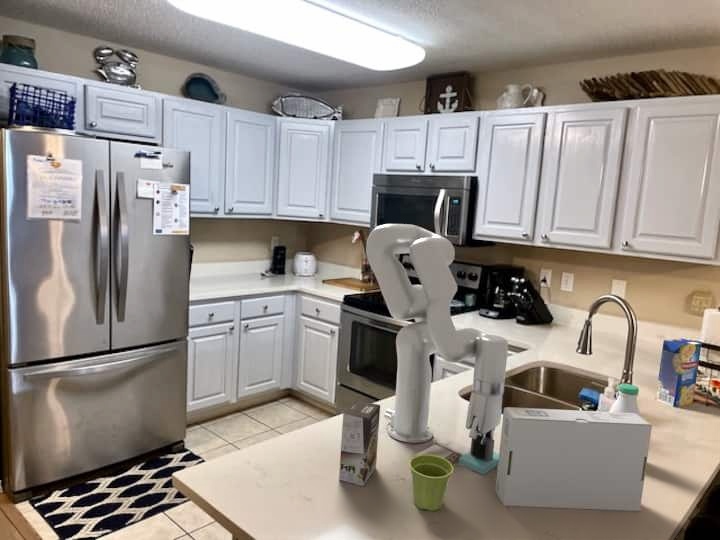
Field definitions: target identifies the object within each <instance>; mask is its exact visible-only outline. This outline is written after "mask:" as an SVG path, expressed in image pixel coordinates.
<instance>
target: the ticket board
mask: <svg viewBox="0 0 720 540" xmlns="http://www.w3.org/2000/svg"><path fill="white" fill-rule="evenodd" d="M418 455H435V456H439V457H442V458H444V459H446V460H447V461H449V462H450V463H451V464H452V465H453V466H454V464H455V465H456V464H458V463H457V462H459V458H460V457H461V456H463V453H461V452H458V451H456V450H454V449H451V448H449V447H446V446H445V445H441V444H439V443H437V442H435V443H433V444H432V445H430V446H428V447H426V448H424V449H422V450H421V451H419V452H417V453H415V454H413V457H415V456H418ZM413 457H412V458H413Z"/></svg>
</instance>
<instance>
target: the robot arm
mask: <svg viewBox="0 0 720 540" xmlns="http://www.w3.org/2000/svg"><path fill="white" fill-rule="evenodd" d="M365 248H366V249H365V253H366V258H367V261H368V264H369V266H370V269H371V270H372V271H373V274H374V277H375V278H376V280H377V283H378V285H379V288H380V291H381V294H382V296H383V299H384V301H385V304H386V307H387V309H388V311H389V313H390V316H391V317H392V318H393V319H394V320H397V321H410V320H413V319H414V321H415V322H413V323H409V324H407V325H405V326H404V327H402V328H401V329H400V330H398V331H399V332H398V333H397V335H396V339H395V346H396V355H397V358H396V359H397V371H396V384H395V385H396V388H395V401H394V410H393V409H392V408H387V409H386V411H385V413H384V417H383V418H384V419H387V420H389V421H390V422H389V424H388V425H387V433H388V434H389V436H391V438H393V439H395V440H397V441H400V442H404V443H411V444H420V443H424V442H427V441H429V440H431V439H432V437H433V433H434V432H433V429H432V427H430V426H429V424H428V423H429V411H430V402H431V401H430V400H431V388H432V374H433V373H432V366H431V362H430V356H431V355H433V354H436V353H437V354H438V355H439V356H440V357H441V358H442V359H443V360H444V361H446V362H448V363H453V364H456V363H460V362H462V361H465V360H468V359H474V367H473V377H472V391H471V394H470V397H469V402H468V405H467V407H468V408H467V413H466V420H465V421H466V422H465V428H466V429H467V430H470V431H469V434H468V437H469V438H470V439H472V438H473V451H472V455H473V456H475V457H477V458H480V459H482V460H483V459H484V458H485V449H486V444H484V443H485V437H488V438H491V439H493V440H494V435H495V432H494V431H495V430H496V428H497V427H498V426H499V425H500V424H501V419H502V413H503V412H502V410H503V395H504V391H505V382H506V369H507V363H508V362H507V360H508V351H509V342H508V341H507V339H506V338H505V337H502V336H500V335H496V334H488V333H485V332H484V331H481V330H479V329H476V328H472V327H465V328H462V329H456V327H455V325H454V322H453V319H452V314H451V305H452V304H451V303H452V302H453V298H454V296H455V295H456V293H457V292H458V285H457V282H456V280H455V278H454V276H453V274H452V271H451V269H450V265H451V264H452V263H453V261H454V260H455V254H456V253H455V252H456V251H455V248H454V245H453V244H452V243H451V241H450V240H449V239H447V238H446V237H444V236H441V235H439V234H437V233H434V232H432V231H430V230H428V229H425V228H423V227H421V226H418V225H414V224H407V223H405V224H404V223H385V224H381V225H378V226H376V227H374V228H373V229H372V231H371V232H370V233H369V235H368V238H367V240H366V245H365ZM399 254H403V255H404V254H409V257H410V260H411V263H412V265H413V266H412V267H413V268H414V270H415V271H414V272H415V273H416V275H417V277H418V280H419V282H420V284H412V283H411V281H410V278H409V277H408V273H407V271H406V268H405V267H404V265H403V264H402V263H401V261H399V260H398V258H397V257H396V255H399ZM477 433H478V434H480V435H481V436H480V435H477Z"/></svg>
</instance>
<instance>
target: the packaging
mask: <svg viewBox="0 0 720 540" xmlns="http://www.w3.org/2000/svg"><path fill="white" fill-rule="evenodd" d="M502 413H503V414H502V424H501V433H500V442H499V443H500V444H499V452H498V454H499V462H498V465H497V473H496V482H495V483H496V484H495V493H496V494H497V496H498V499H499V500H500V503H501V504H502V506H503V507H505V506H507V507H527V508H529V507H532V508H549V509H550V508H552V509H553V508H554V509H555V508H556V509H577V510H580V509H581V510H599V511H600V510H604V511H605V510H606V511H628V512H629V511H632V512H641V507H642V506H641V504H642V498H643V492H644V485H645V484H644V483H645V478H646V471H647V463H648V457H649V450H650V442H651V435H652V428H653V426H652V424H651V423H650V422H648V420H647V421H646V420H645V419H644V418H643V417H642V416H641V417H640V416H638V415H637V414H635V413H619V412H610V411H593V410H573V409H555V408H552V409H551V408H535V407H534V408H533V407H532V408H531V407H512V406H509V407H508V406H507V407H504V408H503V412H502Z"/></svg>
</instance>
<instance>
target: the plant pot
mask: <svg viewBox="0 0 720 540" xmlns="http://www.w3.org/2000/svg"><path fill="white" fill-rule="evenodd" d="M408 466H409V469H410V473H411V475H412V477H411V478H412V491H413V492H412V494H413V495H412V497H413V503H414V504H415V505H416V507H417V508H420V509H421V510H427V511H430V512H432V511H433V512H435V511H438V510H440V509H441V507H442V506H443V502H444V498H445V493H446V490H447V487H448V483H449V479H450V477H451V475H452V474H453V472H454V465H453V466H452V464H451V463H450V462H449V461H447V460H446V459H444V458H442V457H439V456H435V455H418V456H415V457H411V459H409V463H408Z"/></svg>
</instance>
